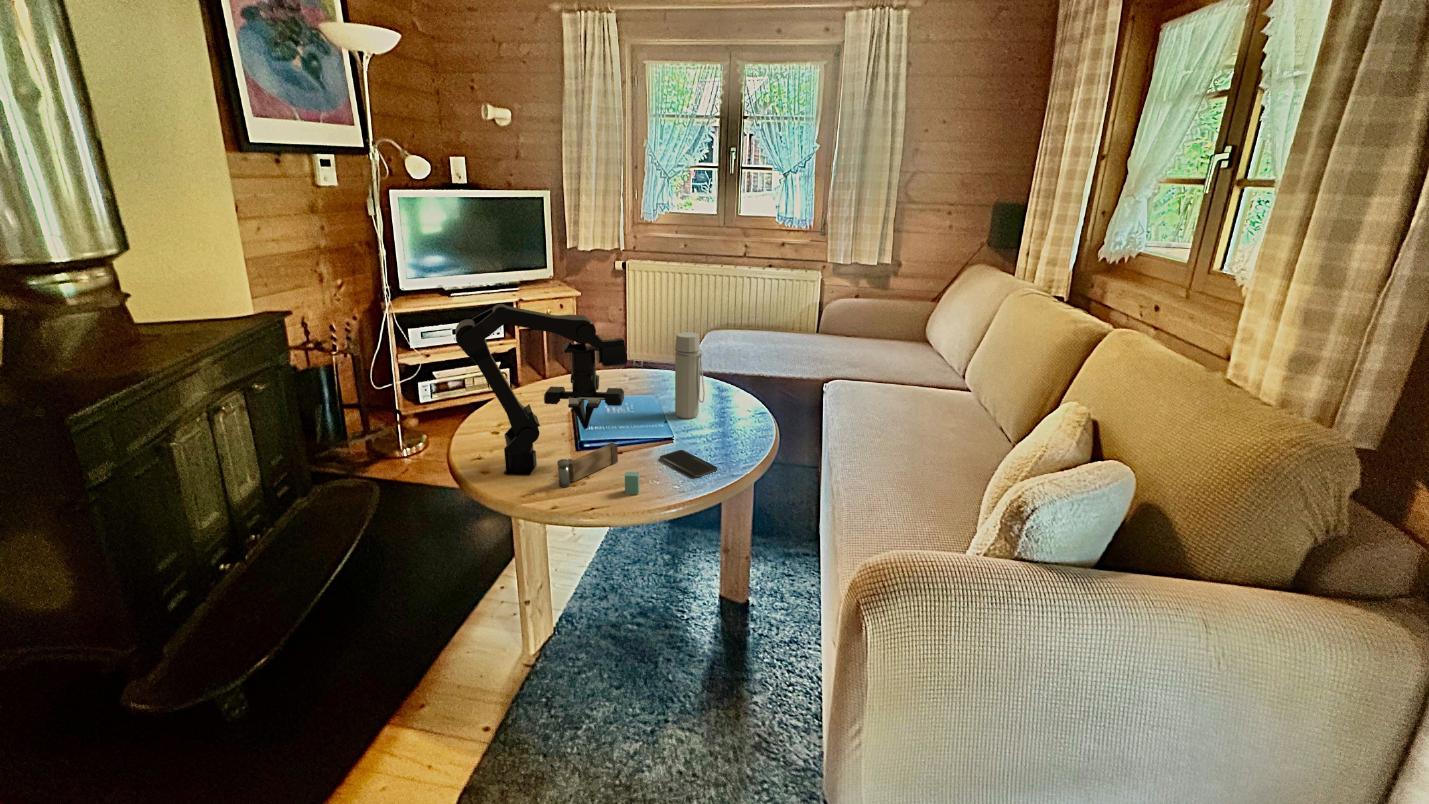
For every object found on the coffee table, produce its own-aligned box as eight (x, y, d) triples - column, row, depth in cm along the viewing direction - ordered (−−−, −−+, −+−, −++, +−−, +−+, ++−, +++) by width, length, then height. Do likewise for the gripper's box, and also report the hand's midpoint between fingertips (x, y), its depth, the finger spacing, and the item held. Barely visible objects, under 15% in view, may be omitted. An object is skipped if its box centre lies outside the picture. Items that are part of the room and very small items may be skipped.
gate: (564, 488, 157) (562, 464, 155) (556, 484, 159) (554, 462, 157) (618, 461, 172) (618, 440, 170) (611, 459, 173) (610, 437, 171)
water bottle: (670, 417, 202) (670, 336, 194) (681, 409, 209) (681, 330, 201) (699, 422, 199) (700, 339, 191) (708, 413, 206) (710, 333, 198)
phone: (695, 476, 163) (657, 456, 174) (695, 481, 164) (657, 460, 174) (719, 468, 168) (681, 448, 179) (719, 472, 169) (681, 452, 179)
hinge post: (558, 487, 158) (557, 469, 156) (560, 483, 160) (559, 464, 159) (568, 488, 158) (567, 469, 156) (570, 483, 160) (569, 465, 159)
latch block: (625, 494, 156) (624, 475, 154) (626, 489, 158) (625, 471, 156) (638, 494, 156) (637, 476, 154) (639, 489, 158) (638, 472, 156)
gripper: (626, 360, 171) (627, 418, 177) (552, 358, 171) (555, 416, 177) (620, 373, 161) (621, 434, 166) (541, 371, 161) (545, 432, 166)
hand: (585, 428), depth 169 cm, fingers closed
